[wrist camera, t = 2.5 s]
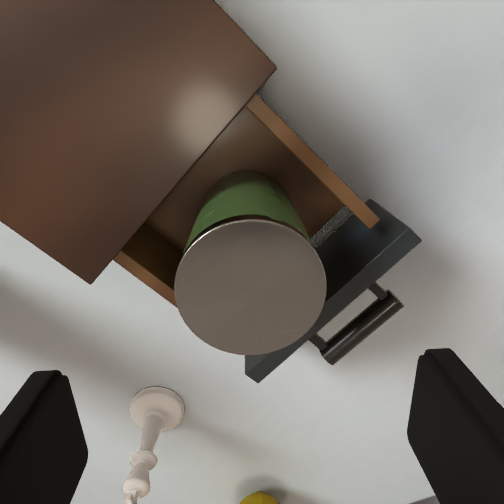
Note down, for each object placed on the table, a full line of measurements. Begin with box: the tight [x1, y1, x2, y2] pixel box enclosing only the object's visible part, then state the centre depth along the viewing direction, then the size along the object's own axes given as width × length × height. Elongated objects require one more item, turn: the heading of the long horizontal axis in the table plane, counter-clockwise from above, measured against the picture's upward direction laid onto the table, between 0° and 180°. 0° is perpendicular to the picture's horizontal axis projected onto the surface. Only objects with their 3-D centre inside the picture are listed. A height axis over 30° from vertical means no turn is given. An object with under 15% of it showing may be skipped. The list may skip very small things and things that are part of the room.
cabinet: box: [0, 0, 277, 284], centre depth 21 cm, size 15×15×9 cm
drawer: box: [113, 94, 421, 383], centre depth 25 cm, size 18×14×7 cm
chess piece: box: [123, 387, 184, 504], centre depth 31 cm, size 5×5×10 cm
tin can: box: [174, 170, 327, 355], centre depth 21 cm, size 6×6×12 cm
